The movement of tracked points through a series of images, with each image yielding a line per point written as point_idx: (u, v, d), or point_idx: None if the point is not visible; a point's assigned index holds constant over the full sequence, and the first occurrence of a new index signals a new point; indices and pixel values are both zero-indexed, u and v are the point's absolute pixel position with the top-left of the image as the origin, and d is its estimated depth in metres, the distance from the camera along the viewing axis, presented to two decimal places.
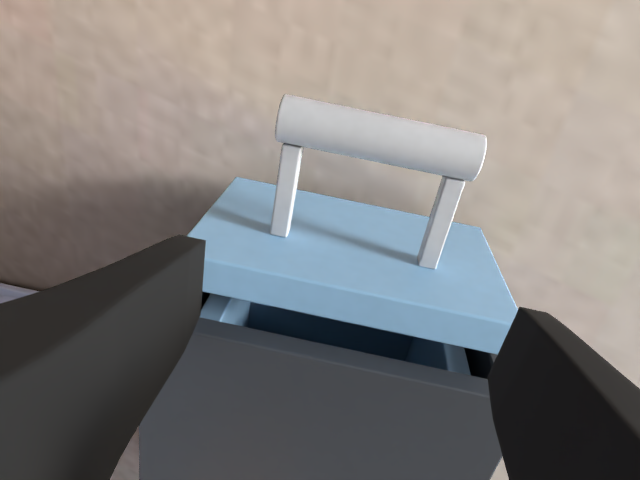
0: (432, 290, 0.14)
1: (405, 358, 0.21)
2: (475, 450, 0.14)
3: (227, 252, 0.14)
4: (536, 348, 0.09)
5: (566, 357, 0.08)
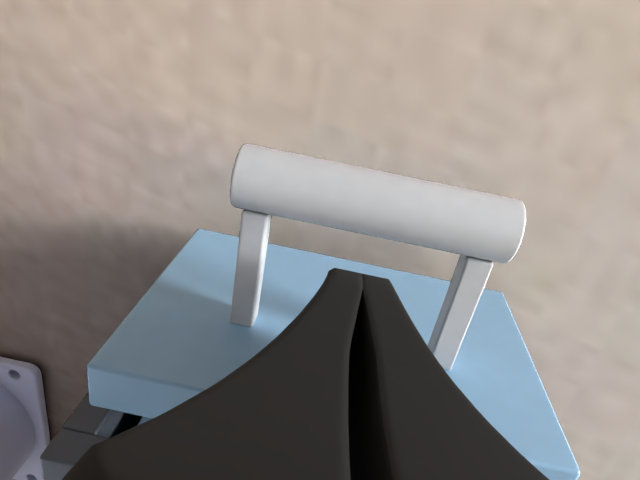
0: None
1: None
2: None
3: (167, 359, 0.10)
4: (359, 309, 0.09)
5: (368, 314, 0.08)
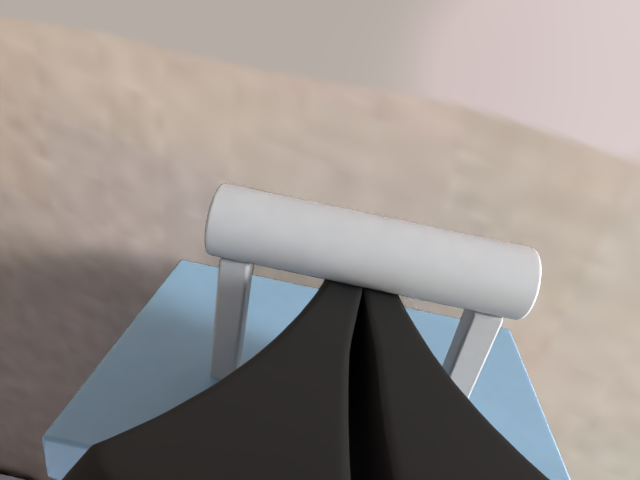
0: None
1: None
2: None
3: None
4: (359, 310, 0.09)
5: (368, 315, 0.08)
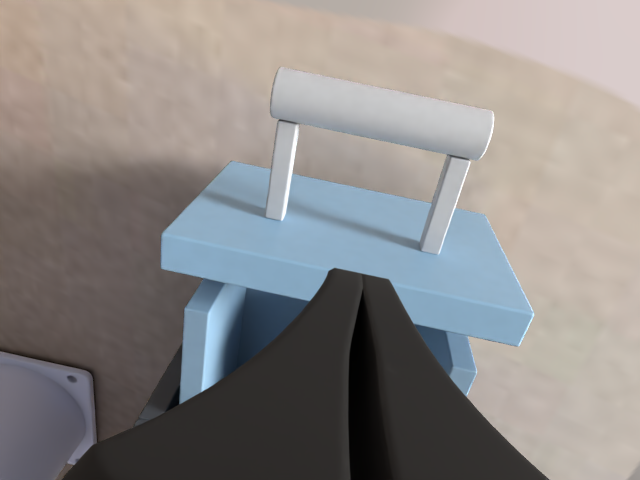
0: (436, 275, 0.13)
1: None
2: None
3: (219, 234, 0.13)
4: (359, 310, 0.09)
5: (368, 314, 0.08)
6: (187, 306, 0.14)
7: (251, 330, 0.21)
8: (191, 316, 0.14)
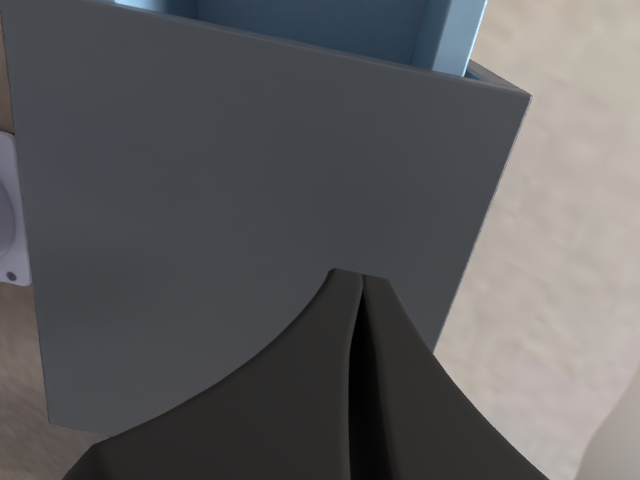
0: None
1: (420, 25, 0.15)
2: (459, 184, 0.11)
3: None
4: (359, 310, 0.09)
5: (368, 314, 0.08)
6: None
7: (212, 8, 0.16)
8: None
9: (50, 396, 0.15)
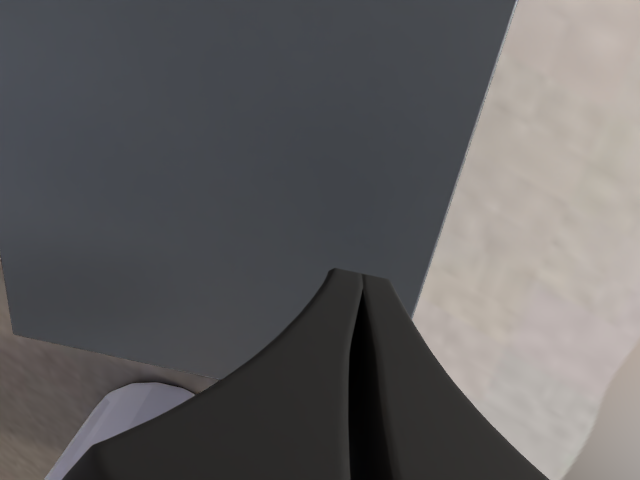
0: None
1: None
2: None
3: None
4: (359, 310, 0.09)
5: (368, 315, 0.08)
6: None
7: None
8: None
9: (12, 300, 0.14)
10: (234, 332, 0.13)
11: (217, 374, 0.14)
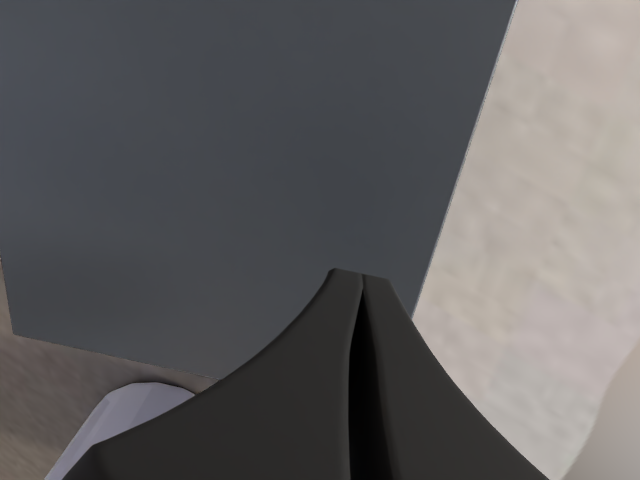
0: None
1: None
2: None
3: None
4: (359, 310, 0.09)
5: (368, 315, 0.08)
6: None
7: None
8: None
9: (12, 300, 0.14)
10: (234, 332, 0.13)
11: (217, 374, 0.14)
